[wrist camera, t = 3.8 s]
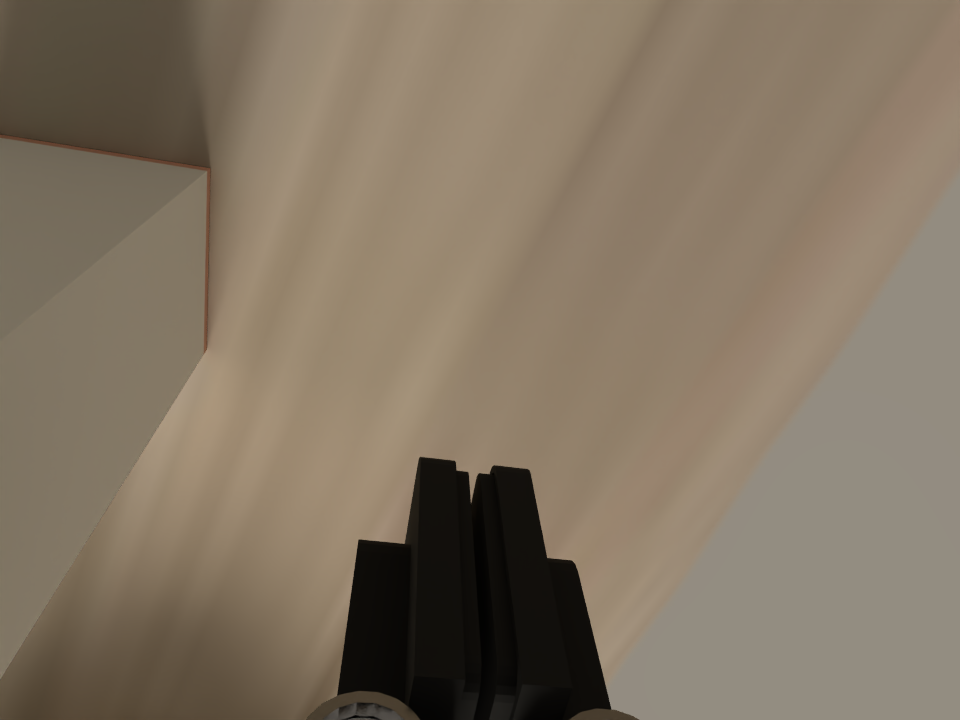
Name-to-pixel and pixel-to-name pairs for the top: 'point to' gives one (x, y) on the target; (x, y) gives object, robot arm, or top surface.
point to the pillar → (86, 344)
